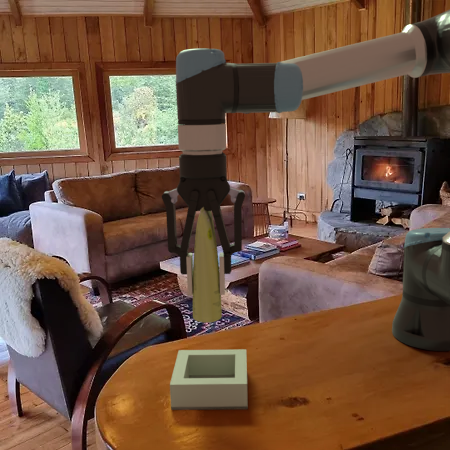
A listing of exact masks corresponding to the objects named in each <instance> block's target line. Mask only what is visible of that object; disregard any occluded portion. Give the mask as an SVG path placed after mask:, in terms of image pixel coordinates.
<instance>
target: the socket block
mask: <svg viewBox="0 0 450 450" xmlns="http://www.w3.org/2000/svg"><path fill="white" fill-rule="evenodd" d="M247 362H248V360H247V349H243V348H241V349H239V348H237V349H178V352H177V355H176V360H175V364H174V368H173V371H172V375H171V379H170V382H169V395H170V410H171V411H173V410H174V411H175V410H176V411H177V410H178V411H182V410H185V411H186V410H188V411H190V410H199V411H200V410H248V370H247V369H248V367H247V366H248V365H247Z"/></svg>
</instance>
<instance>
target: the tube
mask: <svg viewBox="0 0 450 450" xmlns="http://www.w3.org/2000/svg"><path fill="white" fill-rule="evenodd" d="M199 212H200V213H199V214H198V218H197V221H196V227H195V228H196V229H195V238H194V239H195V240H194V247H193V248H194V251H193V294H192V318H193V320H194V321H197V322H199V323H205V324H206V323H215V322H216V321H219V320H221V318H222V316H223V315H222V314H223V312H222V310H223V309H222V295H220V271H219V252H218V246H217V244H218V243H217V237H216V231H215V224H214V223H215V222H214V217H213V214H212V211H207V210H204V207H203V208H202V209H201V210H200V211H199Z"/></svg>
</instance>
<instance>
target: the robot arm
mask: <svg viewBox="0 0 450 450" xmlns="http://www.w3.org/2000/svg"><path fill="white" fill-rule="evenodd" d="M226 61H227V60H226V59H225V52H224V51H223V50H221V49H219V48H218V49H217V48H205V47H204V48H190V49H184V50H181V51H180V52H179V53H178V55H176V59H175V94H176V111H177V138H178V139H177V140H178V142H177V143H178V150H179V152H180V151H181V152H182V153H180V155H179V156H178V161H179V162H178V163H179V166H178V169H179V182H178V184H177V187H176V188H174V189H172V190H169V191H168V190H165V191H164V192H163V193H162V195H161V199H162V202H163V204H164V207H165V212H166V213H165V214H166V231H167V235H166V237H167V250H168V252H169V253H170V254H173V253H174V254H175V255H178V256H179V268H180V269H179V272H180V274H181V275H186V284H187V296H193V262H194V252H189V248H190V243H191V238H192V232H193V228H194V223H195V218H196V214H197V212H200V210H201V209H202V208H203V207H204V210H207V211H211V212H212V217H213V221H214V223H215V224H214V225H215V226H216V231H217V235H218V238H219V242H220V245H221V250H222V252H219V254H218V261H219V272H220V295H221V296H225V295H226V275H231V272H232V255H233V254H235V253H239V252H241V251H242V249H243V247H242V246H243V242H242V241H243V240H242V239H243V238H242V237H243V236H242V235H243V231H242V230H243V229H242V228H243V227H242V220H243V217H242V206H243V204H244V201H245V197H246V191H244V190H243V189H236V188H233V187H231V185H230V183H229V182H228V175H227V173H228V171H227V170H228V168H227V167H228V166H227V162H228V161H227V154H226V153H224V151H225V150H226V149H227V128H226V127H227V124H226V121H227V120H226V116H227V114H237V113H240V114H241V113H242V114H244V115H245V114H251V113H253V114H256V113H257V114H259V113H278V114H281V113H287V112H295V111H297V110H298V109H299V107H300V105H301V103H302V101H304V100H307V99H311V98H315V97H319V96H324V95H328V94H332V93H336V92H341V91H343V90H348V89H349V90H350V89H353V88H357V87H360V86H365V85H369V84H373V83H378V82H382V81H385V80H390V79H394V78H397V77H398V78H399V77H402V76H406V75H408V76H409V77H411V78H414V79H416V78H420V77H424V76H430V75H438V74H440V75H441V74H450V9H448V10H445V11H443V12H442V13H439V14H437V15H435V16H432V17H430V18H427V19H424V20H422V21H418V22H414V23H411V24H407V25H405V26H404V28H403V29H402V30H401V32H398V33H393V34H390V35H386V36H385V35H384V36H380V37H377V38H373V39H369V40H365V41H361V42H356V43H352V44H348V45H344V46H340V47H335V48H332V49H329V50H324V51H320V52H315V53H311V54H307V55H305V56H304V55H303V56H298V57H295V58H291V59H287V60H283V61H278V62H277V61H276V62H259V63H258V62H255V63H254V62H253V63H252V62H251V63H233V62H232V63H231V62H226ZM228 195H229V196H230V201H231V203H233V205H234V206H233V234H234V235H233V236H234V237H233V238H234V239H233V243H231V242H230V239H229V235H228V232H227V229H226V225H225V220H224V217H223V212H222V207H221V204H222V203H223V201H224V200H225V199H226V198H227V196H228ZM178 196H180V197H181V199H182V201H183V202H185V204H186V205H187V213H186V218H185V224H184V228H183V233H182V237H181V243H180V244H178V235H177V234H178V233H177V214H176V213H177V211H176V203H177V202H178ZM404 239H405V240H404V245H403V268H402V269H403V270H402V271H403V272H402V295H401V301H400V303H399V304H398V305H399V306H398V307H397V310H396V312H395V315H394V318H393V320H392V323H391V324H392V326H391V327H392V328H391V333H392V336H393V337H394V338H395V339H396V340H398V341H399V342H401V343H403V344H405V345H408V346H410V347H413V348H417V349H421V350H426V351H435V352H447V351H448V352H449V351H450V228H449V227H427V228H416V229H411V230H409V231H408V232H406V234H405V238H404Z"/></svg>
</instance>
